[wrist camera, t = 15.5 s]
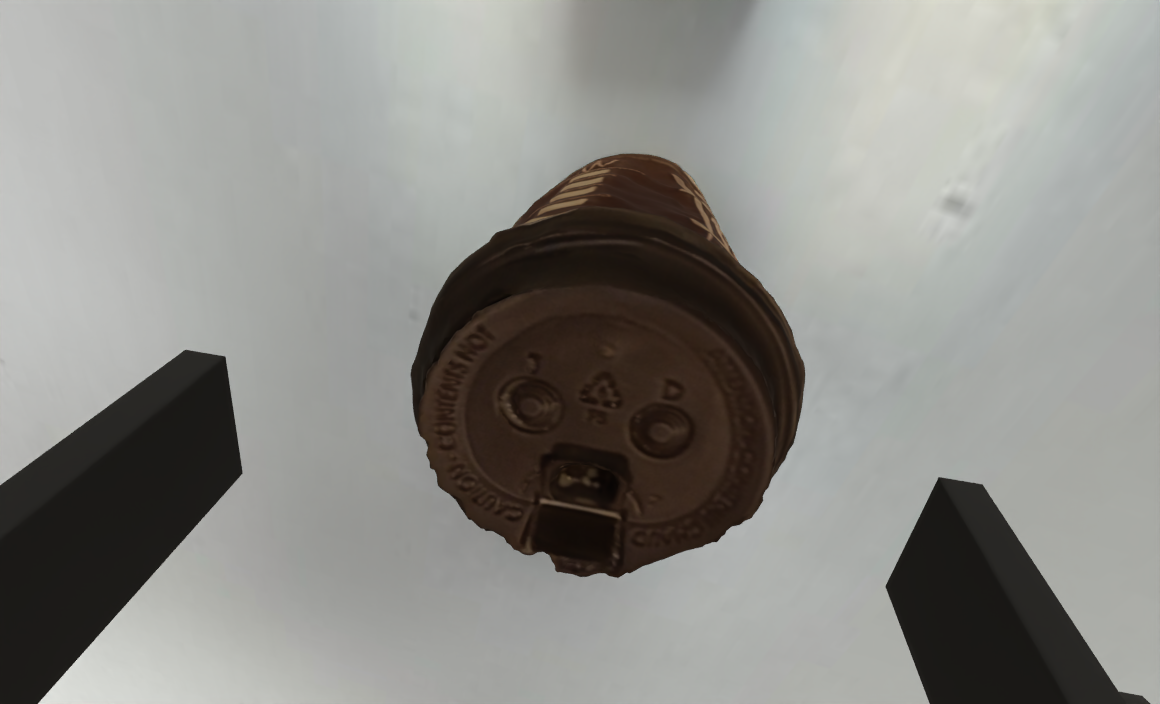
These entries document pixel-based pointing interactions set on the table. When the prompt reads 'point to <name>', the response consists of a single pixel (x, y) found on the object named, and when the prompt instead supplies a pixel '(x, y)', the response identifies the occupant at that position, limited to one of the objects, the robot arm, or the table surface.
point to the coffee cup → (608, 375)
